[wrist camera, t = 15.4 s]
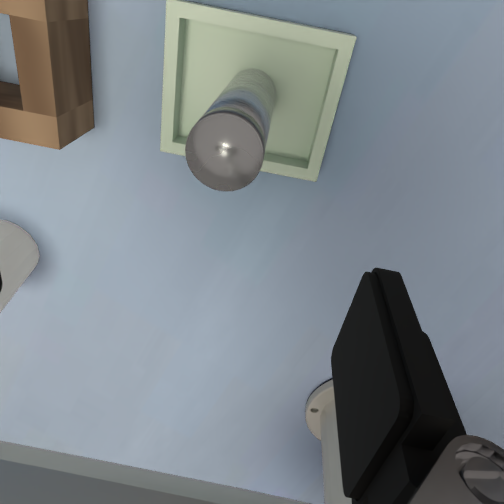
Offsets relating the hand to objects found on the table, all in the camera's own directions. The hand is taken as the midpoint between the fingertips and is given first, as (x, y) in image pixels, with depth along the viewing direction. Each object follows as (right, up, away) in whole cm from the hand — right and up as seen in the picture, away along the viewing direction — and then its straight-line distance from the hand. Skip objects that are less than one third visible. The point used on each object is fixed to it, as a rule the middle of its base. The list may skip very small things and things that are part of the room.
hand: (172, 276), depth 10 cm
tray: (+2, +11, +17) cm, 20 cm away
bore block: (-13, +14, +16) cm, 26 cm away
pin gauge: (+2, +11, +16) cm, 20 cm away
